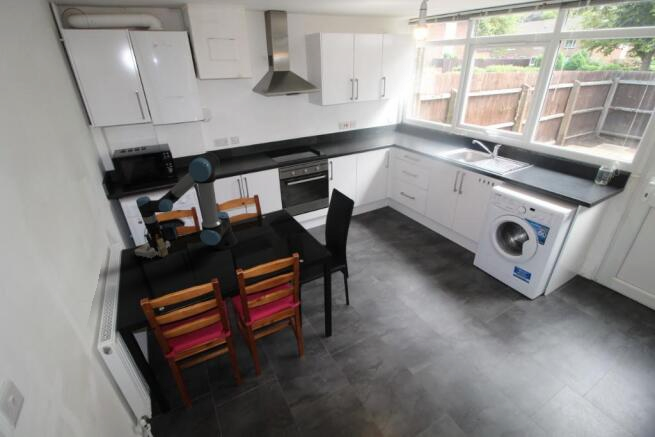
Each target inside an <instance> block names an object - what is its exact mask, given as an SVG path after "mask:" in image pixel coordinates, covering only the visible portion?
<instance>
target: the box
mask: <svg viewBox="0 0 655 437" xmlns="http://www.w3.org/2000/svg"><path fill="white" fill-rule="evenodd" d="M163 226H164V230H165V233H166V236H167V240H166V241H172V240H174V241H175V240H177V239H178V238H177V237H179V235H180V234H179V232H178V228H177V227H176V223H174V222H172V223H164V224H163Z"/></svg>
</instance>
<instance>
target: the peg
mask: <svg viewBox="0 0 655 437" xmlns="http://www.w3.org/2000/svg"><path fill="white" fill-rule="evenodd" d="M156 242H157V246H159V249H160V252H161V254H162V255H158V257H160V258H164V257H166V256H168V255H169V252H168V249H166V247H165V244H164V241H163V238H159V237H156Z"/></svg>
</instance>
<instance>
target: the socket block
mask: <svg viewBox="0 0 655 437" xmlns="http://www.w3.org/2000/svg"><path fill="white" fill-rule="evenodd" d="M165 241H166V242H165V243H166V248H168V247H169V248H171V247H170V246H171V242H170V240H165ZM169 248H168V249H169ZM133 251H134V253H135V255H136V257H140V256H142V257H141V258H144V257H147V258H146V259H148V258H151V259H150V260H153V259H154V258H155V256H156V255H157V256H159V255H158V254H157V252H156V251H155V249H154V248H151V247H150V246H149V243H148V241H147V242H146V243H144V244H143V245H140V246H139V247H138V248H136V249H135V250H133ZM157 256H156V257H157ZM153 257H154V258H153ZM152 258H153V259H152Z"/></svg>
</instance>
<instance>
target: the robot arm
mask: <svg viewBox="0 0 655 437" xmlns="http://www.w3.org/2000/svg"><path fill="white" fill-rule="evenodd" d="M219 167H220V159H219V157H218V156H217V155H216V154H214V153H213V152H204V153H202V154H201V155H199V156H198V157H197V158H195V159H193V160H192V161H191V162H190V164H189V166H188V173H187V174H185V175H184V177H182V178H181V179H180V180H179V181H178V182H177V183H176V184H175V185H174V186H172V188H170V189H169V190H168V192H166V193H165V194H164V195H163V196H161V197H160V198H159V199H151V198H150V197H149V196H147V195H146V196H140V197H139V198H137V199H136V200H135V203H136V206H137V209H138V212H139V213H140V215H141V216H140V217H141V219H142V221H143V223H144V226H145V229H146V230H147V231H146V234H144V235H143V237H145V239H146V240H147V242H148V243H149V246H150V247H151V248H154V249H155V251H156V252H157V254H158V255H157V256H159V255H162V254H161V252H160V249H159V246H157V242H156V238H163V241H164V244H165V247H166V243H165V242H166V241H168V240H167V236H166V233H165V230H164V226H163V225H164V224H163V225H161V224H160V223H159V220H158V217H157V215H156V213H168V212H172V211H173V208H174V204H175V203H176V202H178V201H179V200H180V199H181V198H182V197H184V195H185V194H187V192H188V191H190V190H191V189H192V188H193V187H194V186H195V185H197V189H198V190H197V191H198V195H199V196H198V197H199V203H200V207H201V208H200V209H201V214H202V222H200V224H201V229H202V230H201V232H200V235H199V237H200V240H201V241H202V242H203V243H205V244H206V245H209V246H213V247H214V248H215V249H216V250H219V251H220V250H222V251H225V250H229V249H232V248H234V247H235V246H236V245H237V243H238V238H237V236H235V234H234V232H233V229H232V224H231V220H230V215H229V213H228V212H226V211H218V208H217V207H218V206H217V199H216V191H215V185H214V184H215V182H216V181H217V178H216V171H217V170H219ZM166 249H167V248H166ZM167 250H168V249H167Z"/></svg>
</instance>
